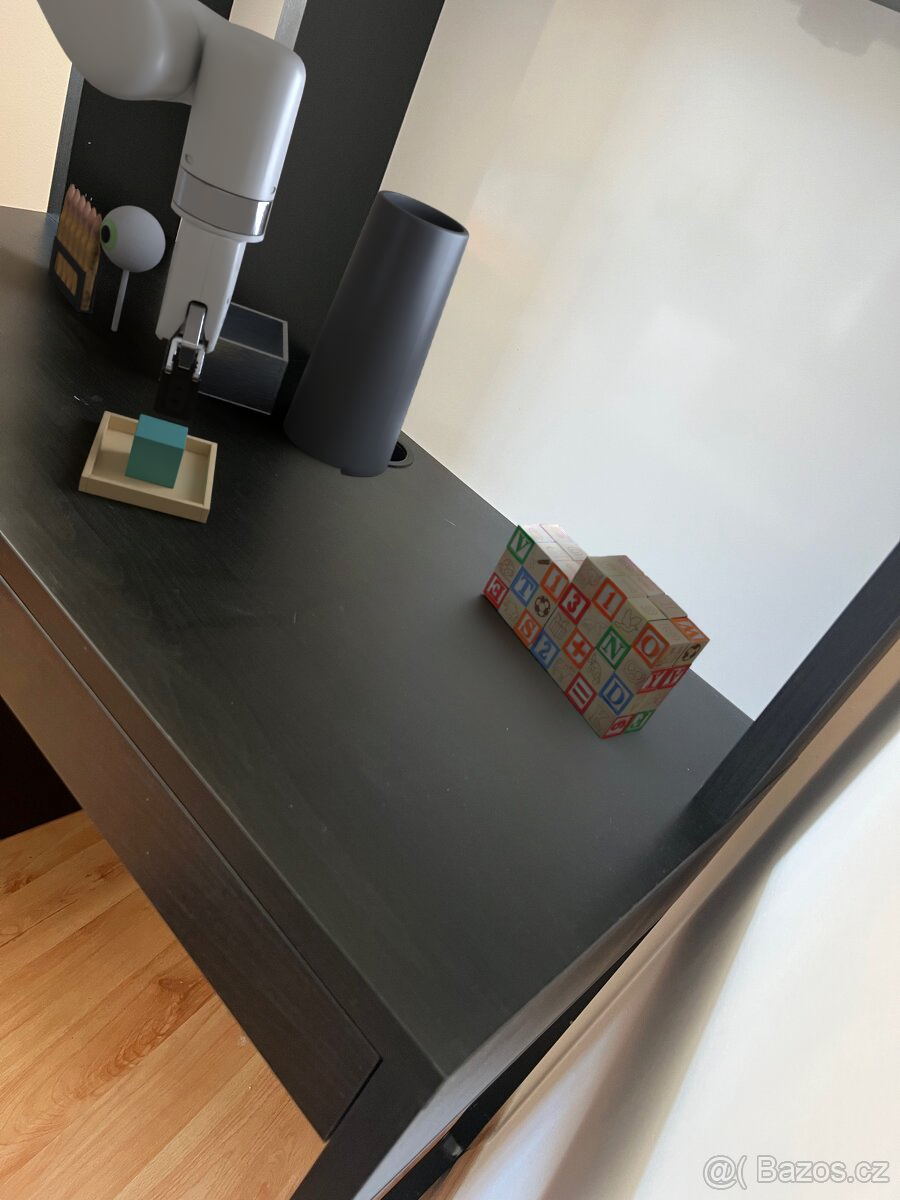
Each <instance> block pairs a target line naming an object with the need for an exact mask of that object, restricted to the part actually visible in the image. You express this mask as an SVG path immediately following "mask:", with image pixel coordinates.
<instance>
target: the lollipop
mask: <svg viewBox="0 0 900 1200" xmlns="http://www.w3.org/2000/svg"><path fill="white" fill-rule="evenodd" d="M165 237H166V236H165V233H164V230H163V228H162V226H161V224H160V223H159V221H158V220H157V218H155V216H153V214H152V213H150V212H149V211H147V210H145V209H144V208H141V207H139V206H135V205H122V206H119V207H116V208H113V209H112V210H110V211H109V212H108V213H107V214H106V215H105V217H104V219H102V224H101V229H100V240H101V242H100V245H101V247H102V249H103V252H104V254H105V255H106V256H107V258H108V259H109V260H110V261H111V262H112V264H114V265H115V266H117V267H118V268H120V269H122V274H121V280H120V284H119V289H118V294H117V299H116V304H115V309H114V312H113V318H112V323H111V327H110V330H111V331H113V332H117V331H118V328H119V323H120V317H121V313H122V309H123V303H124V299H125V295H126V289H127V284H128V280H129V275H130V272H131V273H143V272H146V271H149V270H151V269H153V268H154V267H156V266H157V265H158V264H159V263H160V262H161V260H162V259H163V256H164V253H165V249H166V238H165Z"/></svg>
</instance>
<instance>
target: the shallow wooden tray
mask: <svg viewBox="0 0 900 1200" xmlns="http://www.w3.org/2000/svg"><path fill="white" fill-rule="evenodd" d="M138 421H139V419H135V418H131V417H128V416H125V415H122V414H121V415H120V414H118V413H114V412H111V411H107V410H104V412H103V415H102V418H101V421H100V424H99V426H98V429H97V432H96V434H95V436H94V439H93V443H92V445H91V448H90V451H89V453H88V457H87V458H86V461H85V465H84V467H83V470H82V472H81V475H80V480H79V483H78V491H80V492H83V493H87V494H91V495H95V496H99V497H101V498H102V497H103V498H107V499H110V500H114V501H119V502H122V503H126V504H130V505H134V506H138V507H141V508H146V509H148V510H153V511H157V512H160V513H165V514H168V515H171V516H172V515H173V516H176V517H181V518H184V519H188V520H191V521H196V522H199V523H203V524H206V523H207V519H208V516H209V514H210V509H211V502H212V501H211V500H212V492H213V484H214V476H215V467H216V459H217V452H218V451H217V450H218V443H217V442H213V441H210V440H206V439H203V438H200V437H196V436H194V435H189V434H187V438H186V444H185V449H184V453H183V457H182V460H181V464H180V467H179V471H178V475H177V478H176V482H175V485H174V488H173V489H172V488H168V487H164V486H161V485H157V484H153V483H150V482H146V481H142V480H138V479H135V478H131V477H127V476H125V472H126V468H127V464H128V460H129V456H130V451H131V447H132V443H133V439H134V435H135V431H136V428H137V424H138Z"/></svg>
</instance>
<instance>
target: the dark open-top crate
mask: <svg viewBox="0 0 900 1200" xmlns="http://www.w3.org/2000/svg"><path fill="white" fill-rule="evenodd" d="M180 328H181V327H180ZM203 336H204V335H203ZM170 340H171V339H170ZM170 340H169V339H167V342H166V346H165V351H164V354H163V355H164V356H163V359H162V364H161V367H160V371H159V374H158V375H159V376H158V380H157V383H158V384H159V382H160V377H161V373H162V368H166V366H165V362H166V358H167V354H168V349H169V345H170ZM288 365H289V337H288V321H287V320H283V319H280V318H278V317H274V316H272V315H270V314H266V313H264V312H260V311H258V310H255V309H253V308H249V307H248V306H244V305H241V304H238V303H235V302H233V301H230V304H229V307H228V310H227V313H226V316H225V319H224V322H223V325H222V328H221V331H220V333H219V336H218V339H217V342H216V344H215V347H214V350H213V351H212V352H210V353H207V354H206V351H205V354H204V358H203V362H202V367H201V371H200V375H199V378H200V379H201V383H200V387H199V391H198V394H197V396H200V397H204V398H207V399H210V400H213V401H217V402H220V403H223V404H226V405H229V406H233V407H236V408H237V409H238V408H239V409H242V410H245V411H249V412H252V413H254V414H258V415H261V416H264V417H268V418H271V415H272V412H273V410H274V406H275V403H276V401H277V397H278V394H279V391H280V388H281V385H282V382H283V379H284V376H285V373H286V371H287V367H288Z"/></svg>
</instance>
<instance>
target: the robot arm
mask: <svg viewBox="0 0 900 1200" xmlns="http://www.w3.org/2000/svg"><path fill="white" fill-rule="evenodd" d="M36 2H37V4H38V6H39V8H40V10H41V12H42V14H43V16H44V18H45V20H46V22H47V24H48V25H49V28H50V29H51V32H52V34H54V37H55V39H56V40H57V43H58V44H59V46H60V47H61V49H62V51H63V52H64V54H65V56H66V57H67V59H69V61H70V63H71V64H72V65H73V67H74V68H75V69H76V71H77V72H78V73H79V74H80V75H81V76H82V77H83V78H84V79H85V80H86V82H88V83H89V84H90V85H91V86H93V88H95V89H97V90H98V91H100V92H101V93H102V94H104V95H107V96H110V97H112V98H115V99H118V100H122V101H161V102H171V103H182V104H185V105H189V106H191V108H190V113H189V117H188V123H187V128H186V132H185V138H184V142H183V147H182V152H181V157H180V161H179V162H180V163H179V166H178V171H177V176H176V180H175V186H174V189H173V190H174V191H173V193H172V194H173V195H172V199H171V204H170V207H171V209H172V210H173V212H174V213H175V214H176V215H177V216H179V217H180V218H181V222H180V225H179V229H178V233H177V235H176V240H175V243H174V247H173V251H172V256H171V260H170V266H169V269H168V274H167V278H166V283H165V287H164V293H163V296H162V302H161V306H160V311H159V315H158V320H157V325H156V329H155V335H156V337H157V338H158V340H161V341H163V339H166V340H168V339H169V340H170V339H171V340H170V345H169V349H168V354H167V358H166V362H165V366H166V368H162V373H161V377H160V382H159V383H158V386H157V391H156V396H155V400H154V404H153V411H154V412H155V413H156V414H160V415H162V416H166V417H170V418H173V419H177V420H181V421H184V422H189V421H191V420H192V418H193V414H194V410H195V405H196V402H197V398H198V395H197V394H198V391H199V387H200V383H201V379H200V378H199V375H200V371H201V367H202V362H203V358H204V354H205V351H206V354H207V353H210V352H212V351H213V350H214V347H215V344H216V342H217V339H218V336H219V333H220V331H221V328H222V325H223V322H224V319H225V316H226V313H227V310H228V307H229V304H230V302H231V300H232V296H233V293H234V291H235V287H236V283H237V280H238V276H239V272H240V269H241V264H242V262H243V258H244V254H245V250H246V246H247V243H259V242H262V241H264V239H265V235H266V230H267V226H268V223H269V218H270V215H271V211H272V207H273V204H274V199H275V196H276V192H277V189H278V185H279V181H280V178H281V174H282V171H283V168H284V163H285V159H286V156H287V152H288V150H289V149H288V148H289V145H290V141H291V138H292V135H293V131H294V130H293V129H294V126H295V123H296V119H297V115H298V112H299V108H300V104H301V100H302V97H303V93H304V89H305V84H306V78H307V73H306V66H305V64H304V62H303V60H302V57H301V56H299V54H297V53H296V51H294V50H293V49H290V48H289V47H288V46H286V45H284V44H282V43H281V42H279V41H277V40H276V39H275V40H274V39H273V38H271V37H269V36H266V35H265V34H262V33H260V32H257V31H256V30H253V29H251V28H248V27H246V26H243V25H240V24H237V23H234V22H231V21H230V20H228V19H226V18H224V17H223V16H222V15H220V14H219V13H217V12H215V11H214V10H212V9H211V8H209V7H208V6H207V5H206V4H204V3H202V2H201V1H199V0H36ZM180 327H181V328H180ZM203 335H204V336H203Z"/></svg>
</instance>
